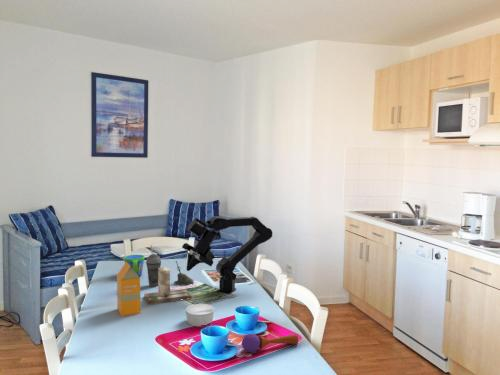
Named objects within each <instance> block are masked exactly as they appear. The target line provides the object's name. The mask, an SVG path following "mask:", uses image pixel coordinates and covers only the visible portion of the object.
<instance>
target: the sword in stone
mask: <svg viewBox="0 0 500 375" xmlns="http://www.w3.org/2000/svg"><path fill="white" fill-rule="evenodd" d="M175 263H176V265H177V271H178V274H177V280H175V281H174V285H176V286H190V284H192V285H194V283H195V281H194V280H193V278H191V277H190V276H188V275H187V274H185V273H183V272H181V267H180V266H179V264H178V260H175Z"/></svg>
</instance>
